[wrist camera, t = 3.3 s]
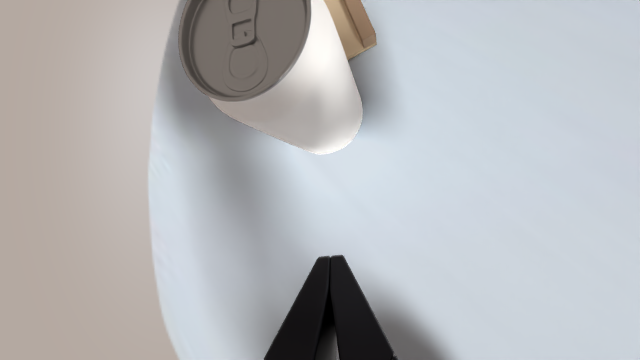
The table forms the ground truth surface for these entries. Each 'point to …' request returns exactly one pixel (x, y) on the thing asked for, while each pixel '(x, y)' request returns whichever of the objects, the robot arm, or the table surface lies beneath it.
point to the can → (273, 68)
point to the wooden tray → (352, 26)
